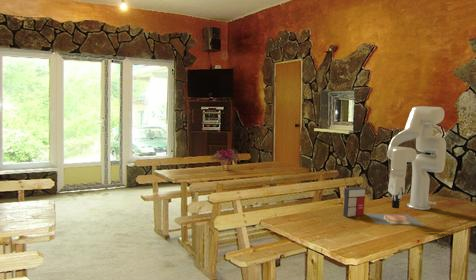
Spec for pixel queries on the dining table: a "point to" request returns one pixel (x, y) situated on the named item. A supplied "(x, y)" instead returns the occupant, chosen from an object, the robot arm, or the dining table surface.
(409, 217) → the mat
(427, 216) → the dining table surface
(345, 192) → the grey and red box
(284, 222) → the dining table surface
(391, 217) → the tile
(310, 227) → the dining table surface
